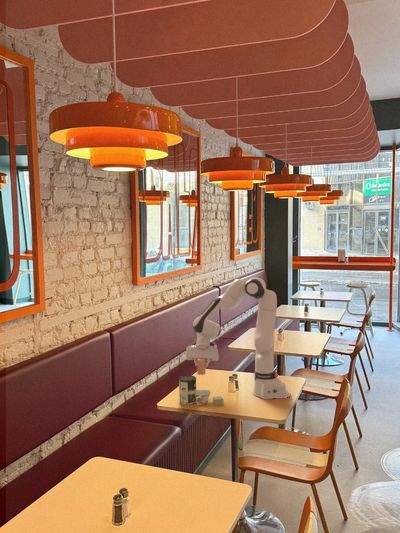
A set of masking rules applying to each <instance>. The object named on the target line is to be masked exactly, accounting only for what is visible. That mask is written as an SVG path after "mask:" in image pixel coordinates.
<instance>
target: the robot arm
mask: <svg viewBox="0 0 400 533" xmlns="http://www.w3.org/2000/svg"><path fill="white" fill-rule="evenodd" d="M246 295H248V296H249V297H252V298H254V299H257V300H258V304H257V316H256V324H255V331H254V337H253V338H254V339H253V345H254V348H255V357H254V359H255V360H254V361H255V362H254V363H255V364H254V366H255V370H254V373H253V374H254V377H253V378H254V387H253V389H252V390H253V392H252V395H253V396H255V397H259V398H261V399H263V400H270V399H271V400H272V399H273V398H276V399H288V398H290V397H291V392H290V390H288V389H287V386H286V384H285V382H284V381H283V380H281V379H280V378H279V377H278V376H279V374H278V373H277V370H274V368H275V367H274V365H275V364H274V359H275V358H274V357H275V353H274V352H275V326H276V321H277V320H276V318H277V308H278V307H277V306H278V299H277V294H276V292H275V291H273V290H270V289H267V282H266V280H265V279H264V278H263V277H260V276H255V277H254V276H253V277H251V278H250V279H248V280H247V281H245V280H244V279H241V278H237V279H235V280H234V281H233V282H231V284H230V285H229V286H228V288H226V291H225V292H224V293H223V294H222V295H220V296H218V297H215V298H214V299H213V300H212V301H210V303H209V304H208V305H207V306H206V308H204V309H203V311H202V312H201V313H200V314H199V315H197V316H196V317H195V318H194V320H193V322H192V329H193V331H194V332H196V336H197V337H196V338H197V339H196V340H195V341H196V343H195V345H189V346H186V348H185V350H186V351H185V359H186V360H187V361H193V362H194V364H195V367H197V360H198V358H206V363H205V367H207V368H208V365H209V363H210V362H211V361H213V362H217V361H218V360H219V350H218V346H217V343H216V342H212V341H211V340H214V339H217V338H219V337H220V335H221V333H222V332H221V331H222V328H221V325H220V324H219V323H217V322H215V321H212V320H210V319H209V318H210V317H211V316H212V314H213V313H214V312H215V311H218V310H233V309H235V308H237V307H238V306H239V305H240V303H241V302H242V300H243V299H244V298H245V296H246ZM289 396H290V397H289ZM287 397H288V398H287ZM273 400H274V399H273Z"/></svg>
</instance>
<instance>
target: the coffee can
mask: <svg viewBox="0 0 400 533" xmlns="http://www.w3.org/2000/svg"><path fill="white" fill-rule="evenodd" d="M196 390H197V377H196V376H194V375H189V374H188V375H186V374H185V375H181V376H179V377H178V391H179V393H178V394H179V395H178V396H179V404H182V405H192V404H196V403H197V396H196Z"/></svg>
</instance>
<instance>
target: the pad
mask: <svg viewBox="0 0 400 533" xmlns="http://www.w3.org/2000/svg"><path fill="white" fill-rule="evenodd" d="M210 394H211V390H210V389H209V390H208V389H206V390H205V389H201V390H199V389H196V397H198V396H200V395H203V396H208V398H209V396H210Z"/></svg>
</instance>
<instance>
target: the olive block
mask: <svg viewBox="0 0 400 533" xmlns="http://www.w3.org/2000/svg"><path fill="white" fill-rule="evenodd" d="M212 403H213V405H214V406H222V405H224V398H223V395H216V396H212Z"/></svg>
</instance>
